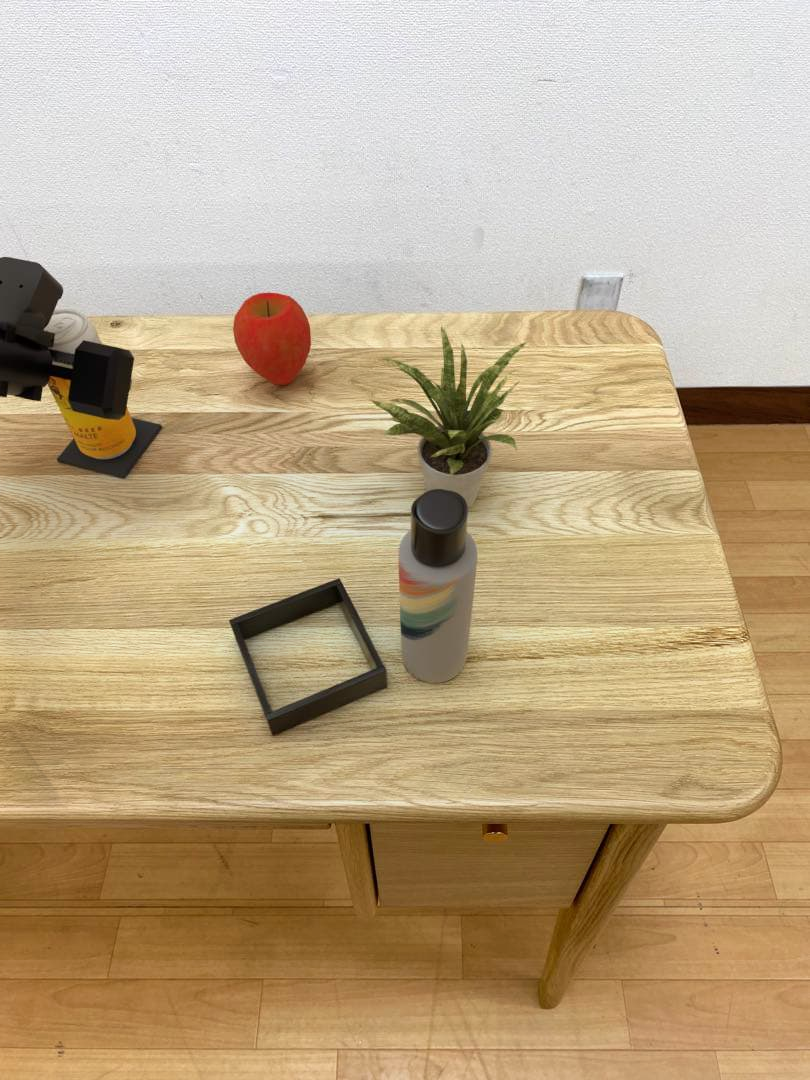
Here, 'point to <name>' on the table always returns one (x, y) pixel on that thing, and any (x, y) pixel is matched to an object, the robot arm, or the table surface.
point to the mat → (118, 464)
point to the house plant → (453, 423)
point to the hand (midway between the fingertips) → (89, 375)
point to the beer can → (87, 430)
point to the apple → (273, 336)
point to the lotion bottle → (436, 586)
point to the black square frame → (292, 611)
